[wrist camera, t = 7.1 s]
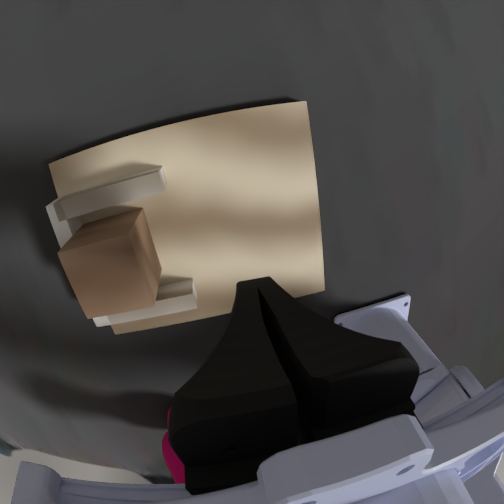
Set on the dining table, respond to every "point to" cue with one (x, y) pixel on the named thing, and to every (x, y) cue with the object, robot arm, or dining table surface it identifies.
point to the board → (205, 207)
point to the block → (113, 265)
